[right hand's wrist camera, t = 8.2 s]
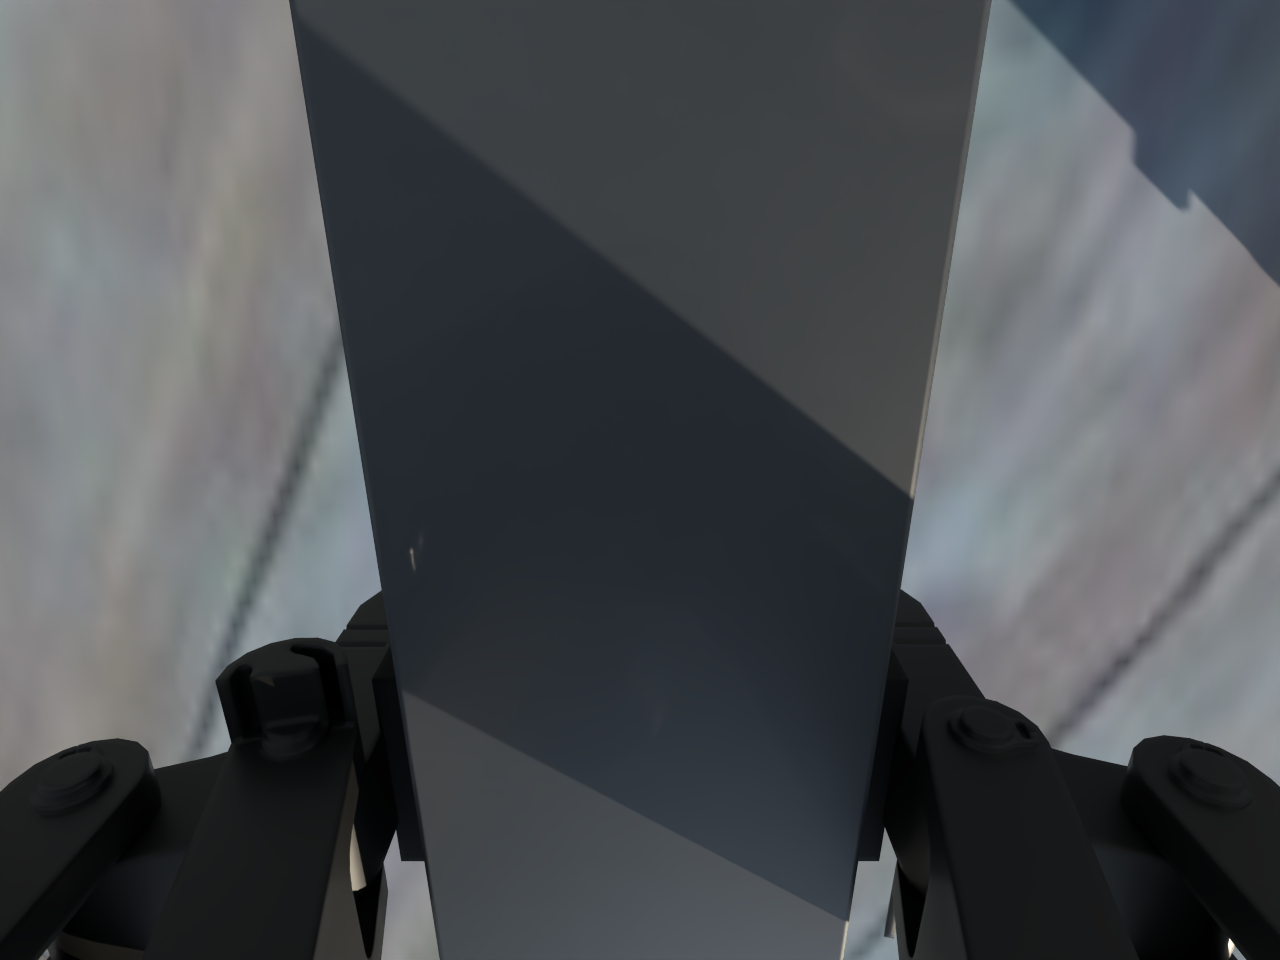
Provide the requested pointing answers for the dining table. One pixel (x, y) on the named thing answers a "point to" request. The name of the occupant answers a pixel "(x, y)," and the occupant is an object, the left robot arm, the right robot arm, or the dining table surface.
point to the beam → (640, 436)
